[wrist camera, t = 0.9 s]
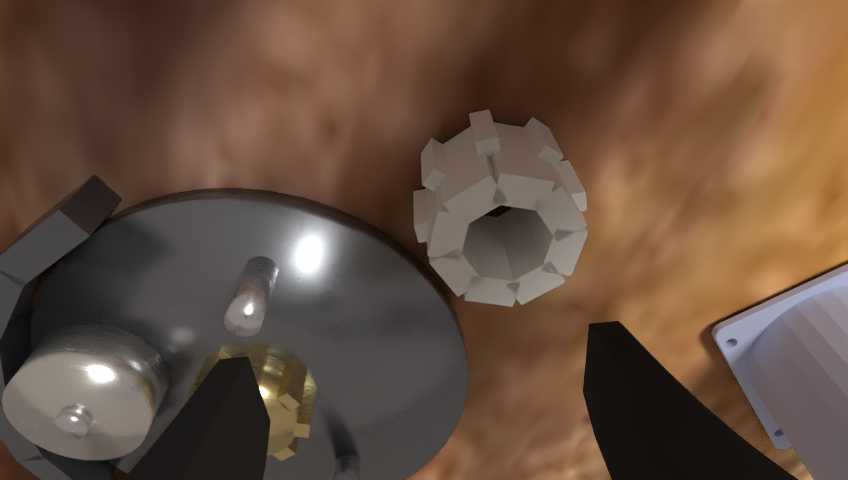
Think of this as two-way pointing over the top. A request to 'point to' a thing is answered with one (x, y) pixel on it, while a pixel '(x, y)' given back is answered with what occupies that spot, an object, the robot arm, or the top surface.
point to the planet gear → (513, 230)
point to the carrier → (223, 333)
